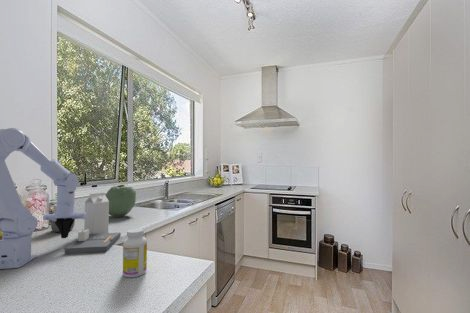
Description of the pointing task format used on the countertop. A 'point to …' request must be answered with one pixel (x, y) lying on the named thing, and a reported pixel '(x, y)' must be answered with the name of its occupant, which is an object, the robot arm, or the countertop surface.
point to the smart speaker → (53, 225)
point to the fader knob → (83, 235)
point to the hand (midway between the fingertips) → (64, 237)
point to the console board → (93, 243)
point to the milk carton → (97, 213)
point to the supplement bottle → (134, 253)
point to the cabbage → (121, 200)
